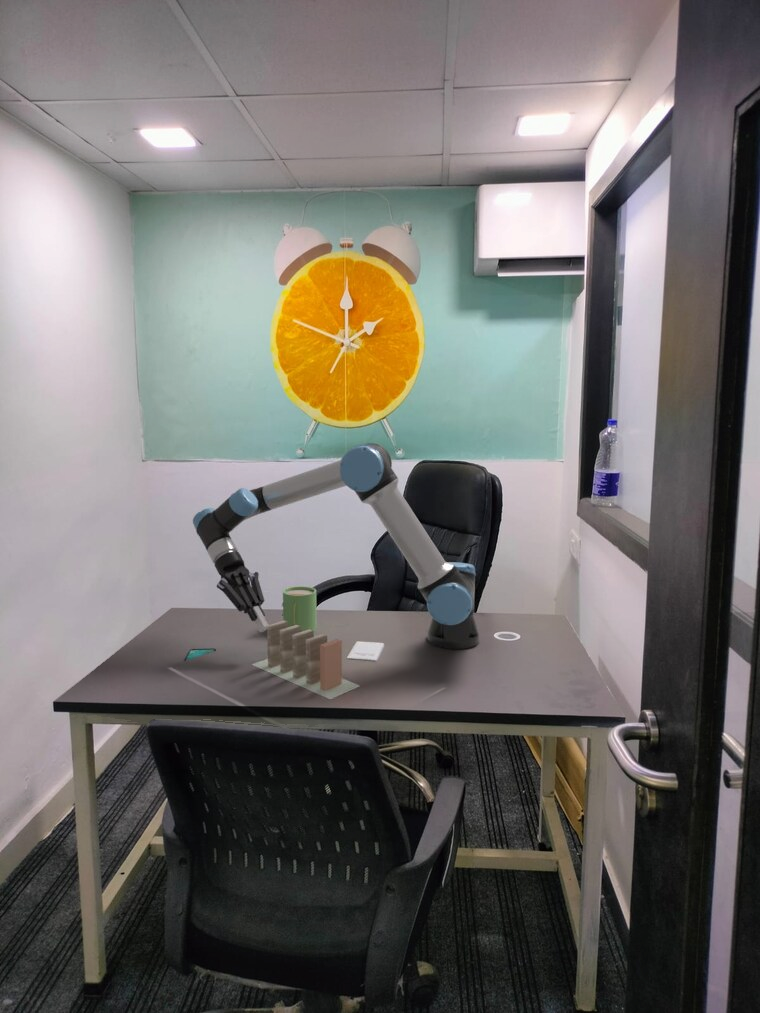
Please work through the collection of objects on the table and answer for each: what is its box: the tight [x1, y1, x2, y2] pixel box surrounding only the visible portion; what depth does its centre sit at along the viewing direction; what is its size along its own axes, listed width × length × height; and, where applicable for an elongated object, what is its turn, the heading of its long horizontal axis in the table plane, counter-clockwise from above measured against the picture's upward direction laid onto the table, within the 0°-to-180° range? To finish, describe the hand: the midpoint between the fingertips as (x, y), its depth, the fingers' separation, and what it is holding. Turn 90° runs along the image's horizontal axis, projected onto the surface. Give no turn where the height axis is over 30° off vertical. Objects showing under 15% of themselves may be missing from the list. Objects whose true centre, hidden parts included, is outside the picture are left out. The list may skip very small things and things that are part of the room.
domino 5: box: [320, 638, 343, 691], centre depth 155 cm, size 2×6×11 cm, turn 138°
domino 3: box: [292, 629, 315, 679], centre depth 161 cm, size 2×6×11 cm, turn 138°
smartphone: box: [184, 648, 217, 661], centre depth 173 cm, size 7×1×15 cm
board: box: [251, 658, 360, 700], centre depth 162 cm, size 30×10×1 cm, turn 48°
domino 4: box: [306, 633, 328, 685], centre depth 158 cm, size 2×6×11 cm, turn 138°
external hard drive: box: [346, 640, 385, 662], centre depth 178 cm, size 2×8×12 cm
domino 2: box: [280, 625, 301, 673], centre depth 165 cm, size 2×6×11 cm, turn 138°
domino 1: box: [266, 620, 288, 668], centre depth 168 cm, size 2×6×11 cm, turn 138°
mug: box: [281, 585, 318, 632], centre depth 196 cm, size 13×10×12 cm
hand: (264, 629), depth 171 cm, fingers closed
